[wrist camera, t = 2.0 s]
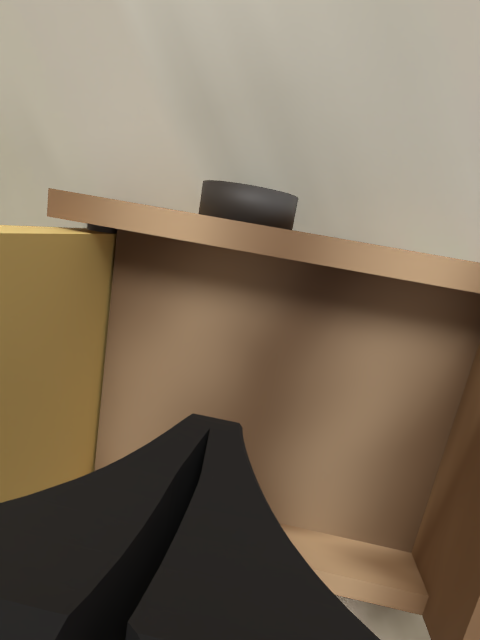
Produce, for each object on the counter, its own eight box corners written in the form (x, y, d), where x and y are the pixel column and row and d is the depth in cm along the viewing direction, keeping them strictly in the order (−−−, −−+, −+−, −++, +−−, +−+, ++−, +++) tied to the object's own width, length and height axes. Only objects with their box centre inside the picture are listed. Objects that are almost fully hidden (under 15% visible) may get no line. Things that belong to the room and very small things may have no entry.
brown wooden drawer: (518, 239, 13) (658, 242, 8) (409, 570, 16) (464, 714, 11) (98, 169, 14) (0, 133, 9) (72, 492, 17) (-12, 595, 12)
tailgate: (125, 228, 14) (-4, 223, 8) (101, 465, 16) (-14, 611, 10) (93, 223, 14) (-60, 213, 8) (74, 459, 16) (-57, 599, 10)
